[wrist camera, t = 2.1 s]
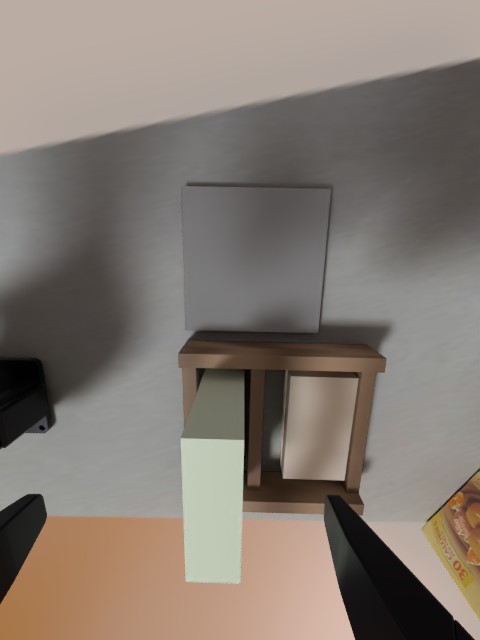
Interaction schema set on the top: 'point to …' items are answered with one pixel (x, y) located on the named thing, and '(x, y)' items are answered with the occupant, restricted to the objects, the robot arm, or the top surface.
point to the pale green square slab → (214, 478)
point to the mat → (254, 258)
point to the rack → (259, 486)
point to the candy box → (460, 540)
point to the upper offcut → (318, 424)
